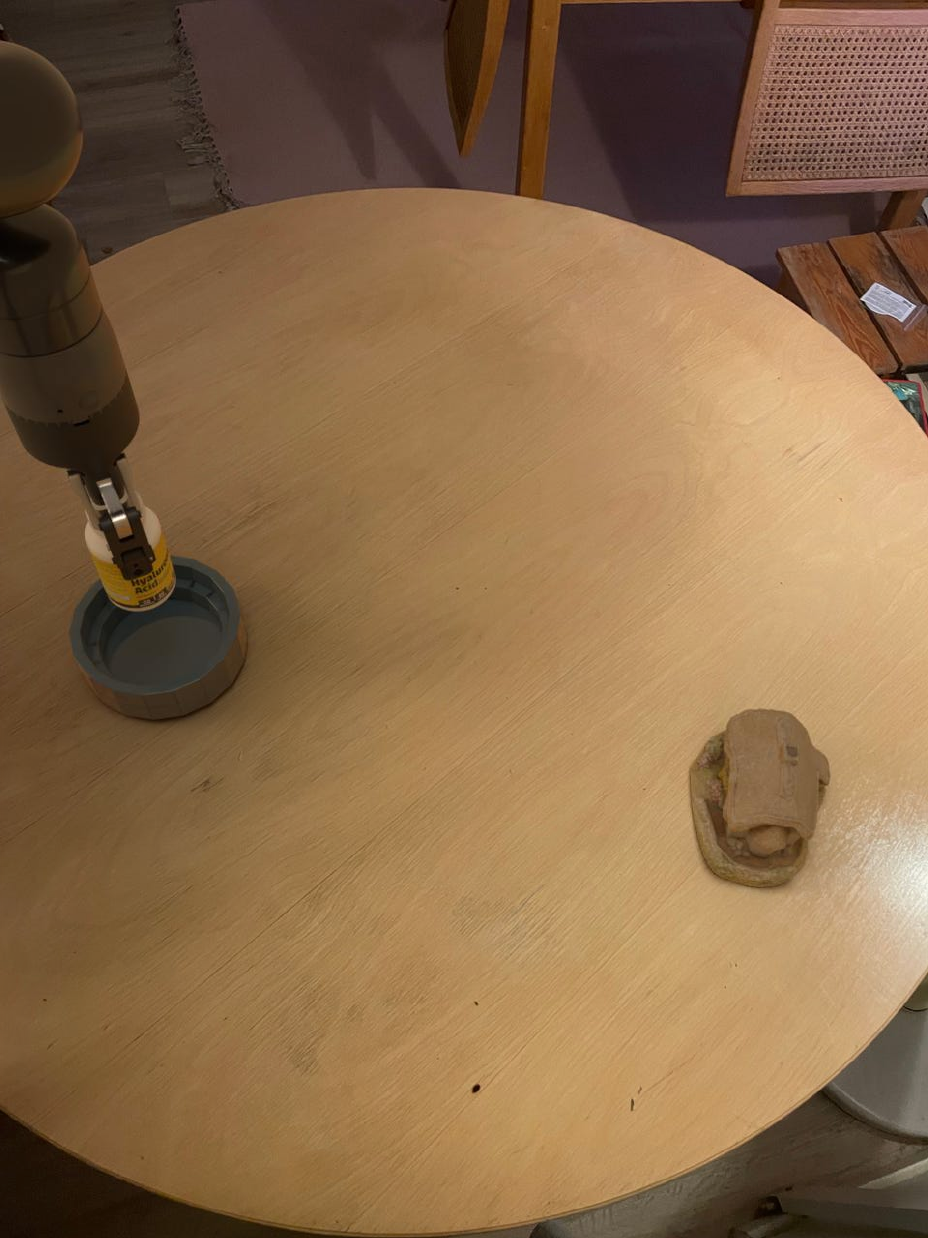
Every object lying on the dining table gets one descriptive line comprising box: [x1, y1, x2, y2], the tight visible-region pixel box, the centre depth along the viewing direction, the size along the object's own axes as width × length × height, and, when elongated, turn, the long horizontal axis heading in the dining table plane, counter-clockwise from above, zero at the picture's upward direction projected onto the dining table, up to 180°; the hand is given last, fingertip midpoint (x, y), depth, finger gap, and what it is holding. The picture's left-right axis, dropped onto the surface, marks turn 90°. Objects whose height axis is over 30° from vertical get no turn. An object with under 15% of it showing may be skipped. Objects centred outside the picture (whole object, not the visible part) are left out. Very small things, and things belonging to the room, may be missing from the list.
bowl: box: [68, 554, 248, 720], centre depth 89 cm, size 14×14×5 cm
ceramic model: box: [689, 708, 832, 888], centre depth 81 cm, size 14×11×10 cm
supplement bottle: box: [84, 487, 176, 611], centre depth 78 cm, size 5×5×10 cm
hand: (125, 543), depth 77 cm, fingers closed on supplement bottle, 5 cm apart
